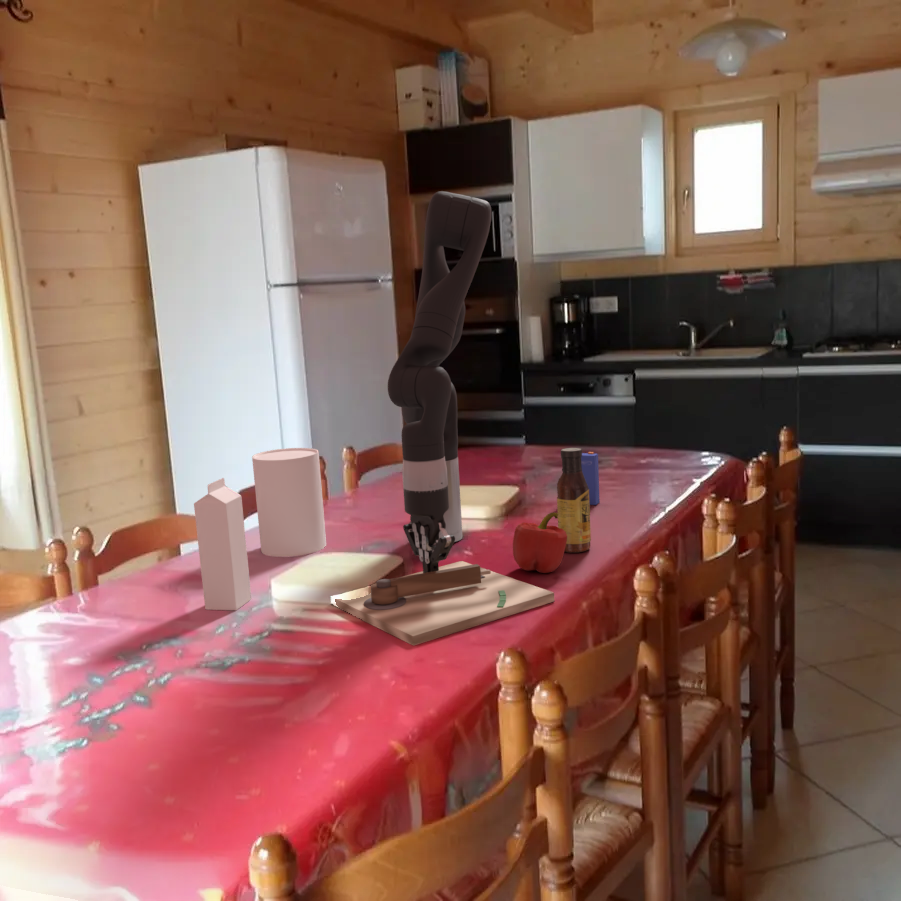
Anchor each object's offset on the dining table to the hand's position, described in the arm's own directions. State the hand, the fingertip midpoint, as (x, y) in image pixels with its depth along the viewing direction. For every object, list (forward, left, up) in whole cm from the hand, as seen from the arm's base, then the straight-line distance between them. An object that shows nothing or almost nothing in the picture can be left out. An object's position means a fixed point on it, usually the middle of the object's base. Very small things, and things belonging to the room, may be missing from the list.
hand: (431, 582), depth 167 cm
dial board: (+4, -1, -3) cm, 4 cm away
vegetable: (+2, +23, -3) cm, 23 cm away
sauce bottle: (-3, +36, -3) cm, 37 cm away
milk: (-22, -28, -3) cm, 36 cm away
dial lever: (+3, -2, -1) cm, 3 cm away
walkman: (-30, +63, -3) cm, 70 cm away
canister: (-47, -3, -3) cm, 48 cm away
